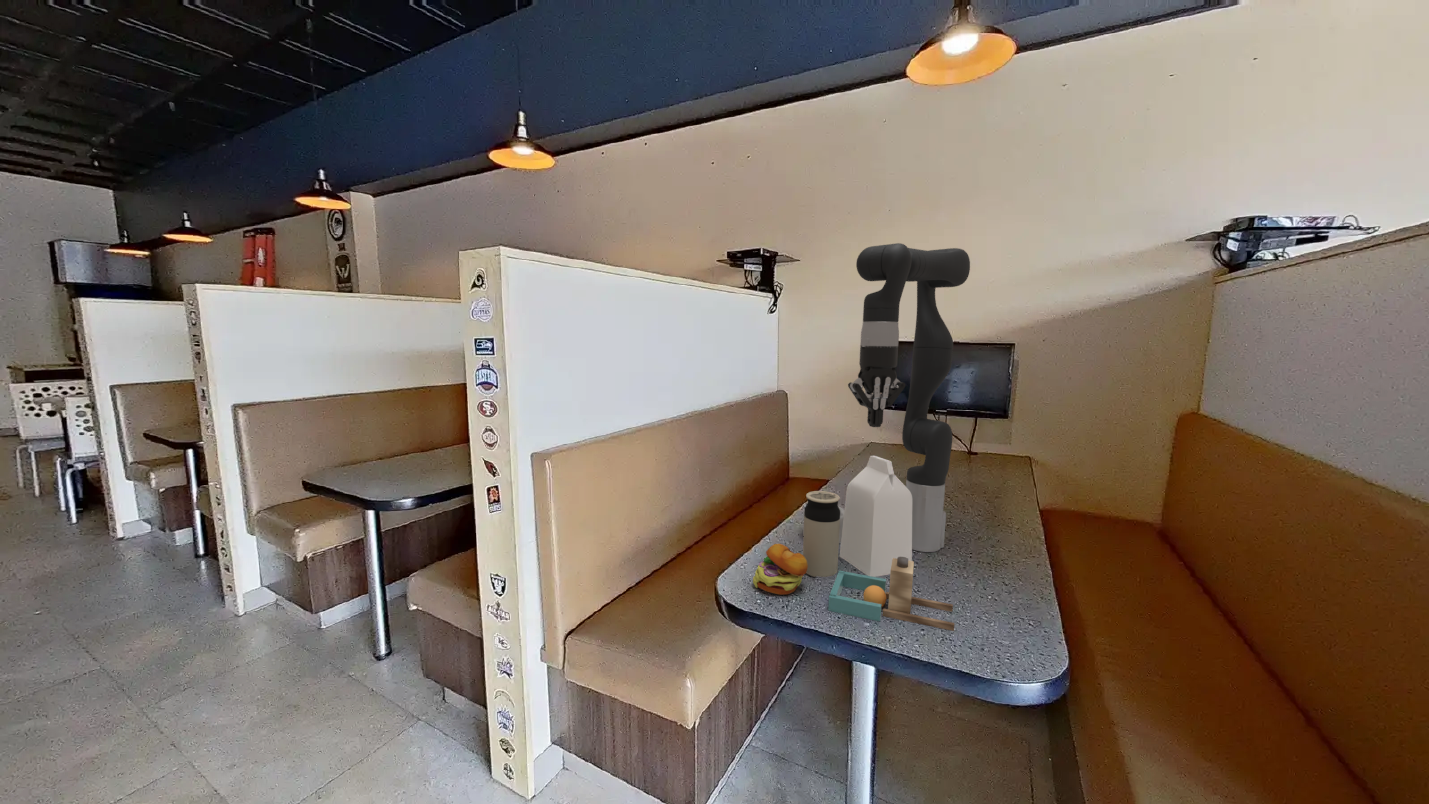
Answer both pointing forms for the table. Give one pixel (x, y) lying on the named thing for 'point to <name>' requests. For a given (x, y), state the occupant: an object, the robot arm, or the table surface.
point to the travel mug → (821, 533)
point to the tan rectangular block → (901, 585)
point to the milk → (876, 519)
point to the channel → (922, 619)
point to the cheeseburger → (780, 570)
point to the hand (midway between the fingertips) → (874, 426)
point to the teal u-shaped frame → (854, 605)
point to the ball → (875, 595)
